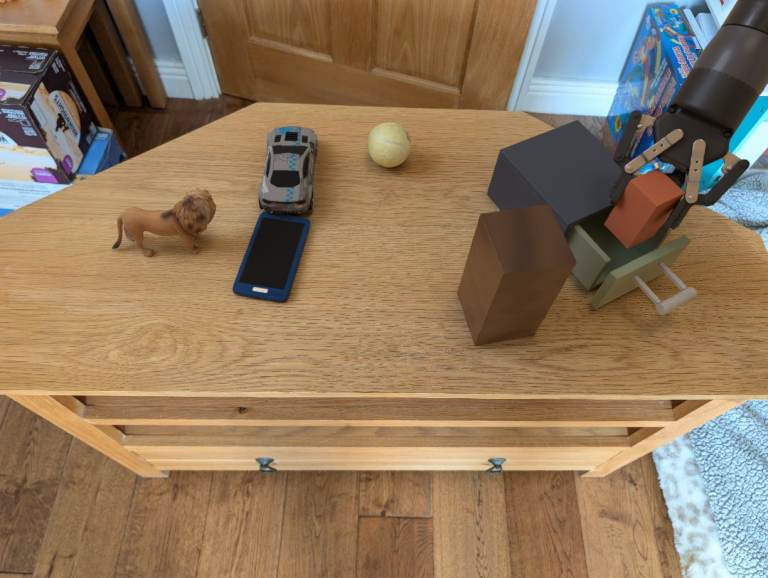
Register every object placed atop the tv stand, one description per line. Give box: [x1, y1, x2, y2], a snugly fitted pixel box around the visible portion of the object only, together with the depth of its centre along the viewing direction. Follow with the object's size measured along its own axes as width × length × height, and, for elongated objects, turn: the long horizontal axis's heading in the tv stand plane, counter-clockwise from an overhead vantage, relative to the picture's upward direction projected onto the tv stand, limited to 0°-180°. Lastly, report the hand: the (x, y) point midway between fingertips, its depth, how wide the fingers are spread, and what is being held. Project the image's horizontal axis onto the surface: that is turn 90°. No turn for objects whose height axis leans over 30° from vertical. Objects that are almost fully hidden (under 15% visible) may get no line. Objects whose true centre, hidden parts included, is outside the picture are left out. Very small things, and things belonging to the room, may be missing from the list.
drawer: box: [566, 207, 698, 316], centre depth 73 cm, size 19×12×7 cm, turn 29°
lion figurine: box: [111, 187, 217, 258], centre depth 72 cm, size 15×5×9 cm, turn 103°
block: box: [604, 167, 685, 249], centre depth 67 cm, size 4×4×8 cm
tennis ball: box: [365, 121, 412, 168], centre depth 83 cm, size 6×7×7 cm
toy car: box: [258, 125, 319, 215], centre depth 81 cm, size 8×17×5 cm, turn 1°
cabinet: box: [486, 119, 638, 238], centre depth 78 cm, size 15×14×9 cm
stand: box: [456, 204, 577, 346], centre depth 65 cm, size 8×8×16 cm
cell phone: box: [231, 211, 312, 303], centre depth 75 cm, size 7×14×1 cm, turn 171°
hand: (638, 216), depth 66 cm, fingers closed on block, 6 cm apart
